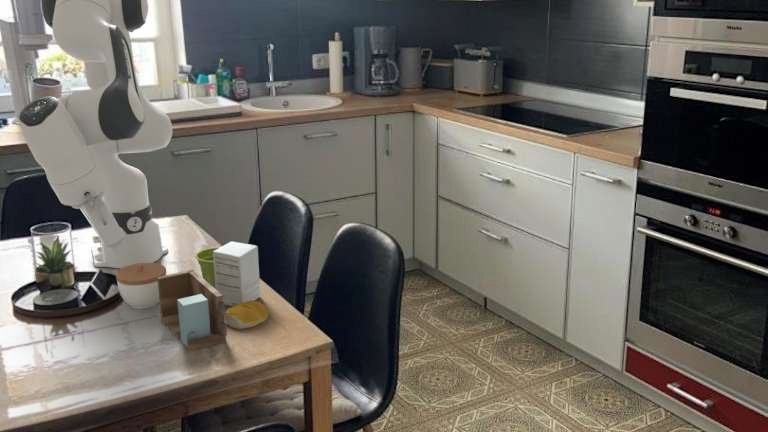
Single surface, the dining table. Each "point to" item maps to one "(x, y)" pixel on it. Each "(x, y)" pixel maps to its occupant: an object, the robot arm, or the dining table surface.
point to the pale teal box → (193, 318)
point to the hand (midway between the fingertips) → (112, 242)
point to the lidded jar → (140, 284)
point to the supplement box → (237, 273)
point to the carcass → (185, 287)
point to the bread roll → (246, 315)
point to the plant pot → (207, 264)
